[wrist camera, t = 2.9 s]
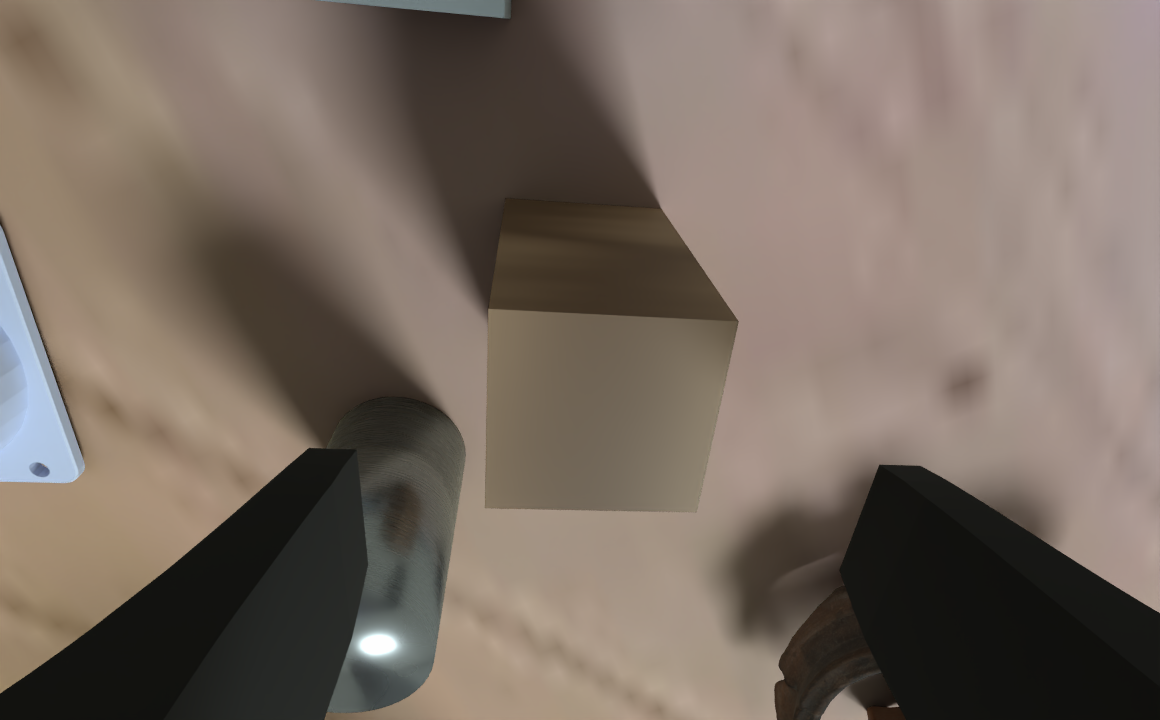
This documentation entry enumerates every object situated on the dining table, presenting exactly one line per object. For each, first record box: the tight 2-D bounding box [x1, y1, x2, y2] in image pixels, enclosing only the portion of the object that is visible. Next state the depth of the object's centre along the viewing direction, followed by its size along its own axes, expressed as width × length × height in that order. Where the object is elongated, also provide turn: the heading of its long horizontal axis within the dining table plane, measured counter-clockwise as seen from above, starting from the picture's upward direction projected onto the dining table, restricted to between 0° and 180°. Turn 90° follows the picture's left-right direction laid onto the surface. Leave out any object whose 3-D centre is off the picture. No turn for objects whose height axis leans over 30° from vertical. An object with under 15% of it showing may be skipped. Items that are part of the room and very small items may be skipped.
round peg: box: [326, 397, 466, 713], centre depth 16 cm, size 4×4×7 cm
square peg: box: [485, 198, 739, 512], centre depth 14 cm, size 4×4×7 cm
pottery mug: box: [774, 586, 906, 720], centre depth 23 cm, size 12×10×8 cm
